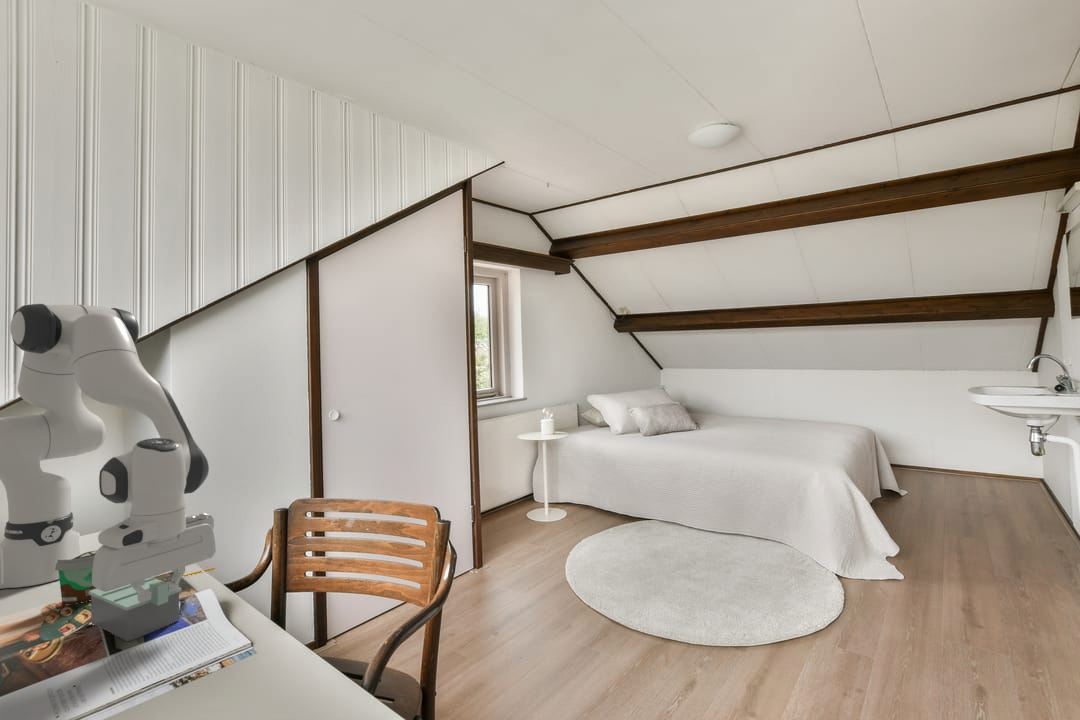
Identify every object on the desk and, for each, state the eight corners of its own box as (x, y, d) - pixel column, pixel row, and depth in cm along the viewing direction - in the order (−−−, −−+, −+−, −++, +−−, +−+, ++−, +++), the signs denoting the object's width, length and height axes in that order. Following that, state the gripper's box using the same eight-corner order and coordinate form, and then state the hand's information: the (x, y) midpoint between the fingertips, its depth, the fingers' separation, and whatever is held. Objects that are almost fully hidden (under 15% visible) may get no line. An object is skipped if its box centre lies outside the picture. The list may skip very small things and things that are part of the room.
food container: (78, 610, 113) (78, 562, 113) (54, 607, 114) (54, 560, 114) (133, 586, 125) (133, 543, 125) (111, 583, 126) (111, 541, 126)
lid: (88, 594, 107) (88, 576, 107) (143, 576, 115) (142, 560, 115) (134, 614, 99) (134, 594, 99) (189, 594, 107) (189, 575, 107)
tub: (91, 624, 107) (91, 593, 107) (142, 605, 115) (142, 577, 115) (127, 641, 101) (127, 609, 101) (179, 621, 108) (179, 591, 108)
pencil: (123, 592, 122) (123, 589, 122) (214, 569, 136) (214, 566, 136) (124, 593, 122) (124, 590, 122) (215, 570, 135) (215, 567, 135)
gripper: (204, 508, 114) (204, 574, 114) (87, 536, 96) (87, 614, 96) (222, 513, 111) (222, 580, 111) (105, 542, 93) (104, 622, 93)
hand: (158, 596), depth 104 cm, fingers open, 3 cm apart
